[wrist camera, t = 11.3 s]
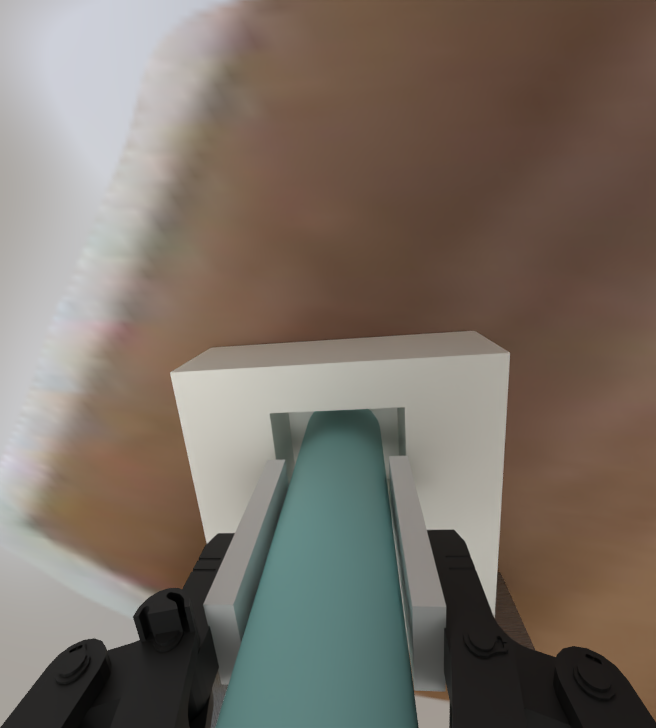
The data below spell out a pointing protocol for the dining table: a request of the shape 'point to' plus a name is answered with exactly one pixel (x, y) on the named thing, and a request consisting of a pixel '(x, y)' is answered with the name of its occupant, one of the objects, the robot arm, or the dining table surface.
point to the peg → (328, 596)
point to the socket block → (348, 392)
